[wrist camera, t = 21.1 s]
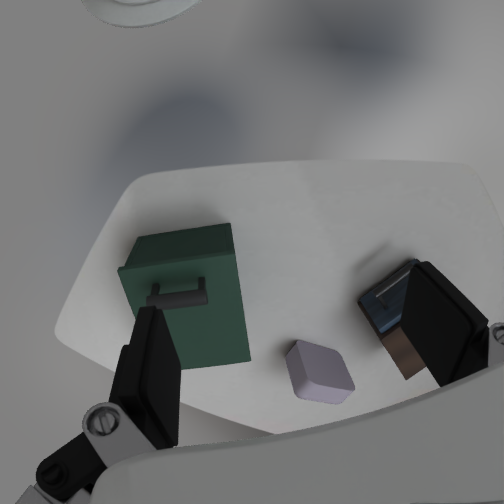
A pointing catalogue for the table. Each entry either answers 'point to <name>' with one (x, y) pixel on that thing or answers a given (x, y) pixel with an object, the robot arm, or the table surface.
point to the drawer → (388, 299)
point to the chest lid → (194, 305)
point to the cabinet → (398, 347)
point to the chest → (181, 244)
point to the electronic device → (318, 373)
